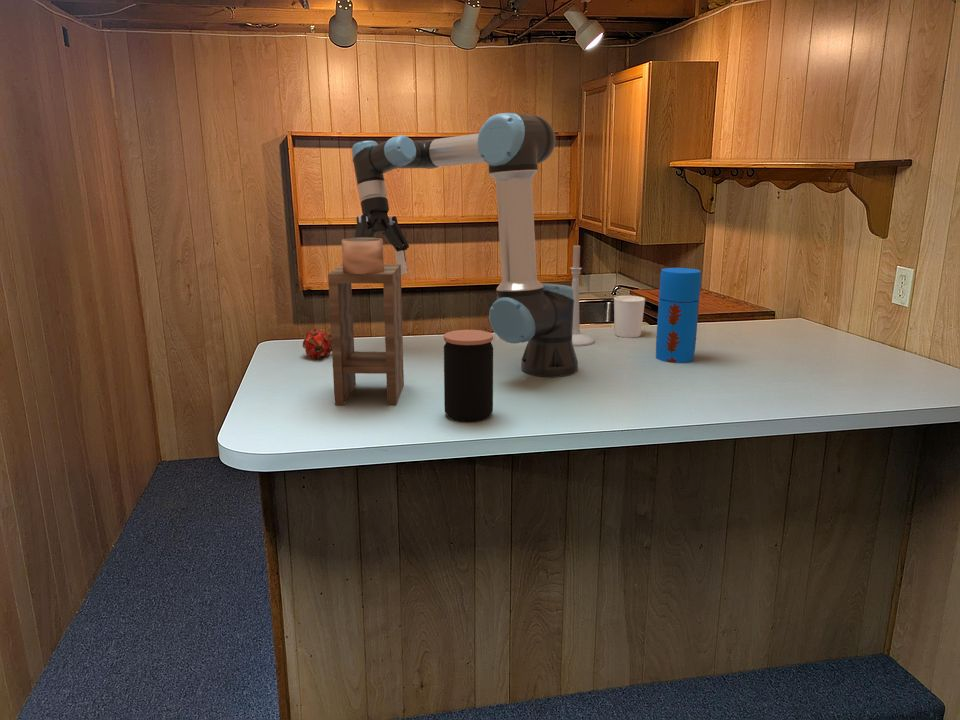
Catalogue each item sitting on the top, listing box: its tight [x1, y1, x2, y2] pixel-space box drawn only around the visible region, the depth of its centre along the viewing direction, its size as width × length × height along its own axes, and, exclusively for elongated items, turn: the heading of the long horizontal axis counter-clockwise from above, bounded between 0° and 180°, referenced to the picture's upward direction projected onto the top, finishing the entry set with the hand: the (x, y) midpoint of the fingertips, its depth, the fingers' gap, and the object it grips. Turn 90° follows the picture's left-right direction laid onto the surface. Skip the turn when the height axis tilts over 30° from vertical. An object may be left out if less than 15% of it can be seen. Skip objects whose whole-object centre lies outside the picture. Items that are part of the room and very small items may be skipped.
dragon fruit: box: [302, 328, 332, 360], centre depth 206 cm, size 8×8×12 cm
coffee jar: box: [443, 329, 494, 423], centre depth 156 cm, size 11×11×18 cm
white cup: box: [613, 295, 646, 339], centre depth 232 cm, size 10×10×12 cm
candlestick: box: [569, 245, 595, 347], centre depth 221 cm, size 13×13×30 cm
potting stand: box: [327, 263, 405, 406], centre depth 169 cm, size 16×14×30 cm
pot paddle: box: [341, 237, 385, 274], centre depth 169 cm, size 26×9×7 cm, turn 0°
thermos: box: [655, 267, 702, 364], centre depth 202 cm, size 11×11×25 cm
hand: (386, 274), depth 202 cm, fingers open, 13 cm apart
